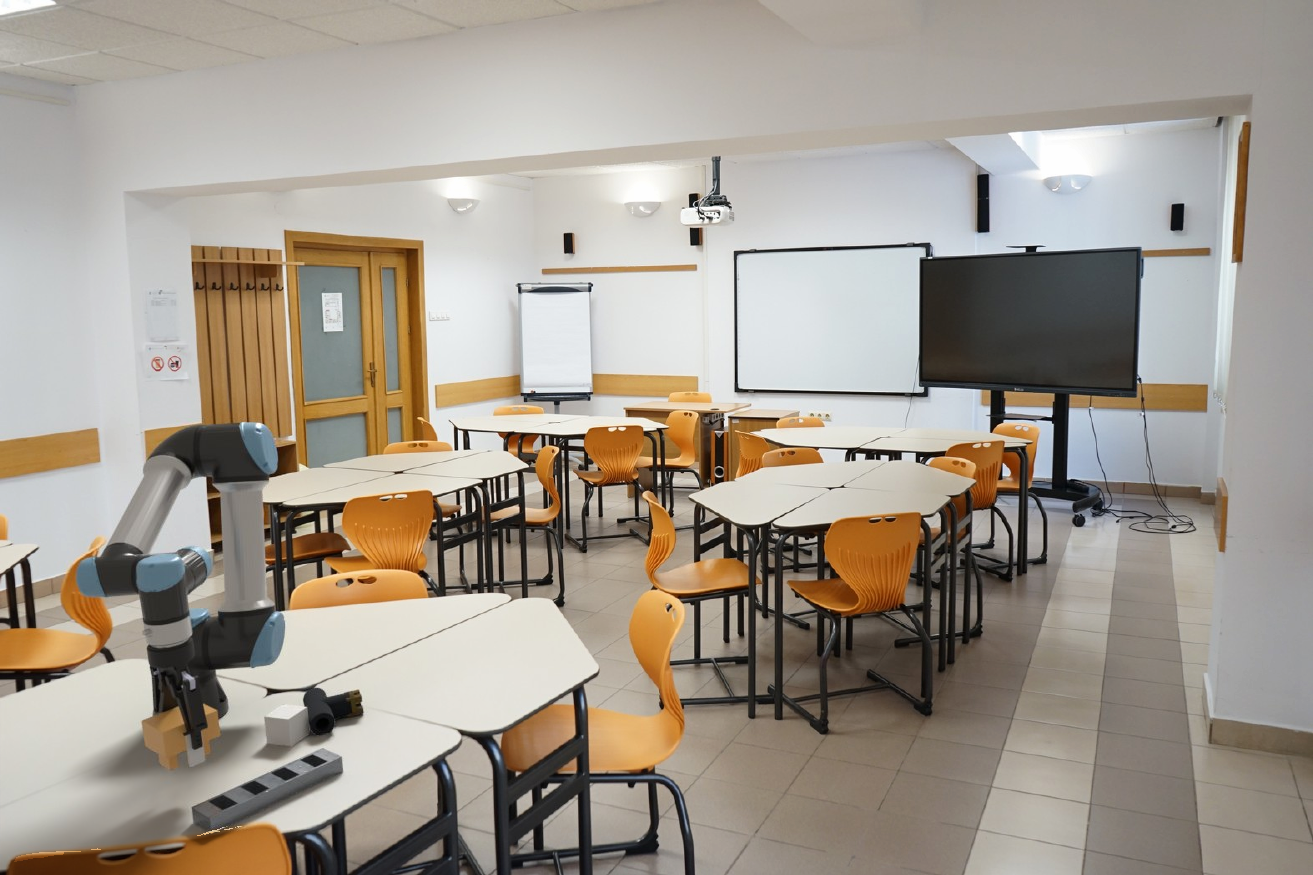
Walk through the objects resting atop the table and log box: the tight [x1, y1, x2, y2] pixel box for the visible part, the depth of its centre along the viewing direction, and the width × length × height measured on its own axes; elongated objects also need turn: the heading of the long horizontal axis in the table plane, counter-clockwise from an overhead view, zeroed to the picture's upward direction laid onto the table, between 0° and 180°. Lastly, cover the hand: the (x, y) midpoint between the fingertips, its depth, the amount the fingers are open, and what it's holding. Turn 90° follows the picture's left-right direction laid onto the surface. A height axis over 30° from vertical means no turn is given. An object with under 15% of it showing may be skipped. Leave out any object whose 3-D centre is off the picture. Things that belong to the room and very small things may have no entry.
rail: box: [191, 747, 344, 832], centre depth 174 cm, size 6×26×3 cm, turn 142°
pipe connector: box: [302, 687, 365, 736], centre depth 206 cm, size 12×5×15 cm
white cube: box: [263, 703, 311, 747], centre depth 197 cm, size 6×6×6 cm
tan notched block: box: [141, 704, 221, 771], centre depth 174 cm, size 8×10×8 cm
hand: (185, 756), depth 175 cm, fingers closed on tan notched block, 8 cm apart
